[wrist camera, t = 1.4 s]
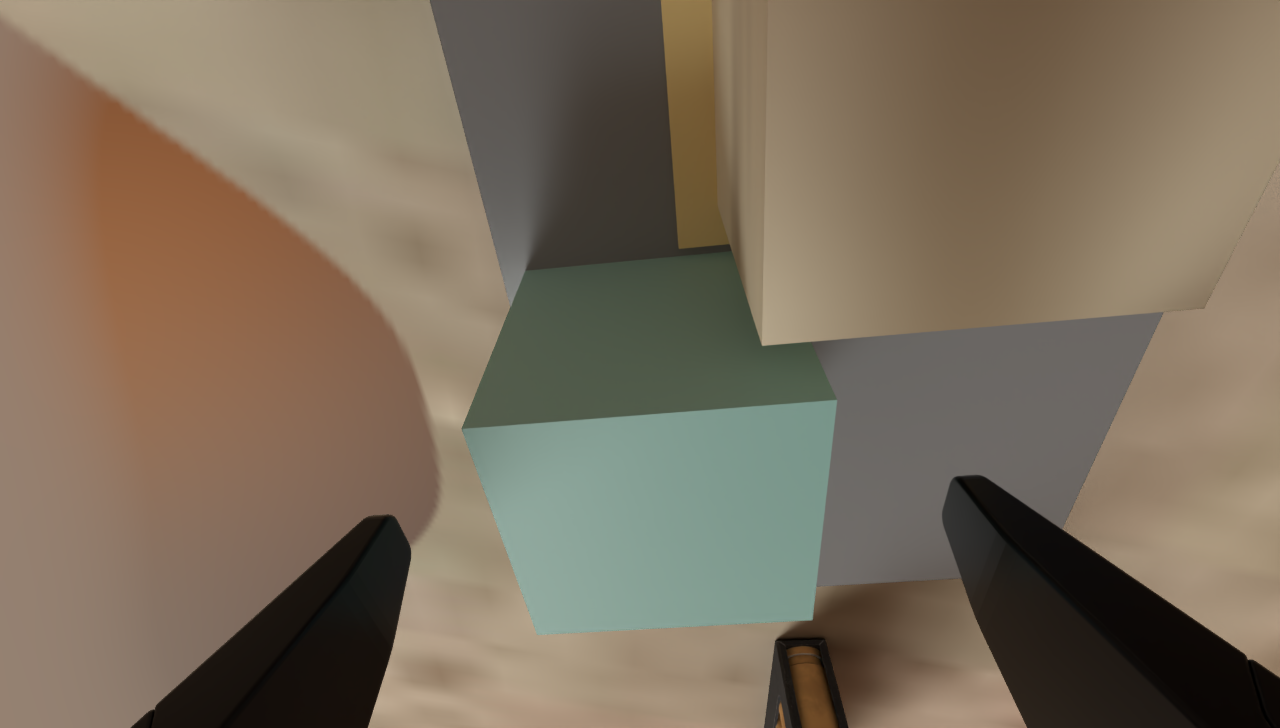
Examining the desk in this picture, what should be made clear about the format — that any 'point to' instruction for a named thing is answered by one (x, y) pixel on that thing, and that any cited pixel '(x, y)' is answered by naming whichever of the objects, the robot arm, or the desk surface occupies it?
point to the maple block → (987, 157)
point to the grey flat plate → (691, 224)
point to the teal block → (652, 450)
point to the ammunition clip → (803, 687)
